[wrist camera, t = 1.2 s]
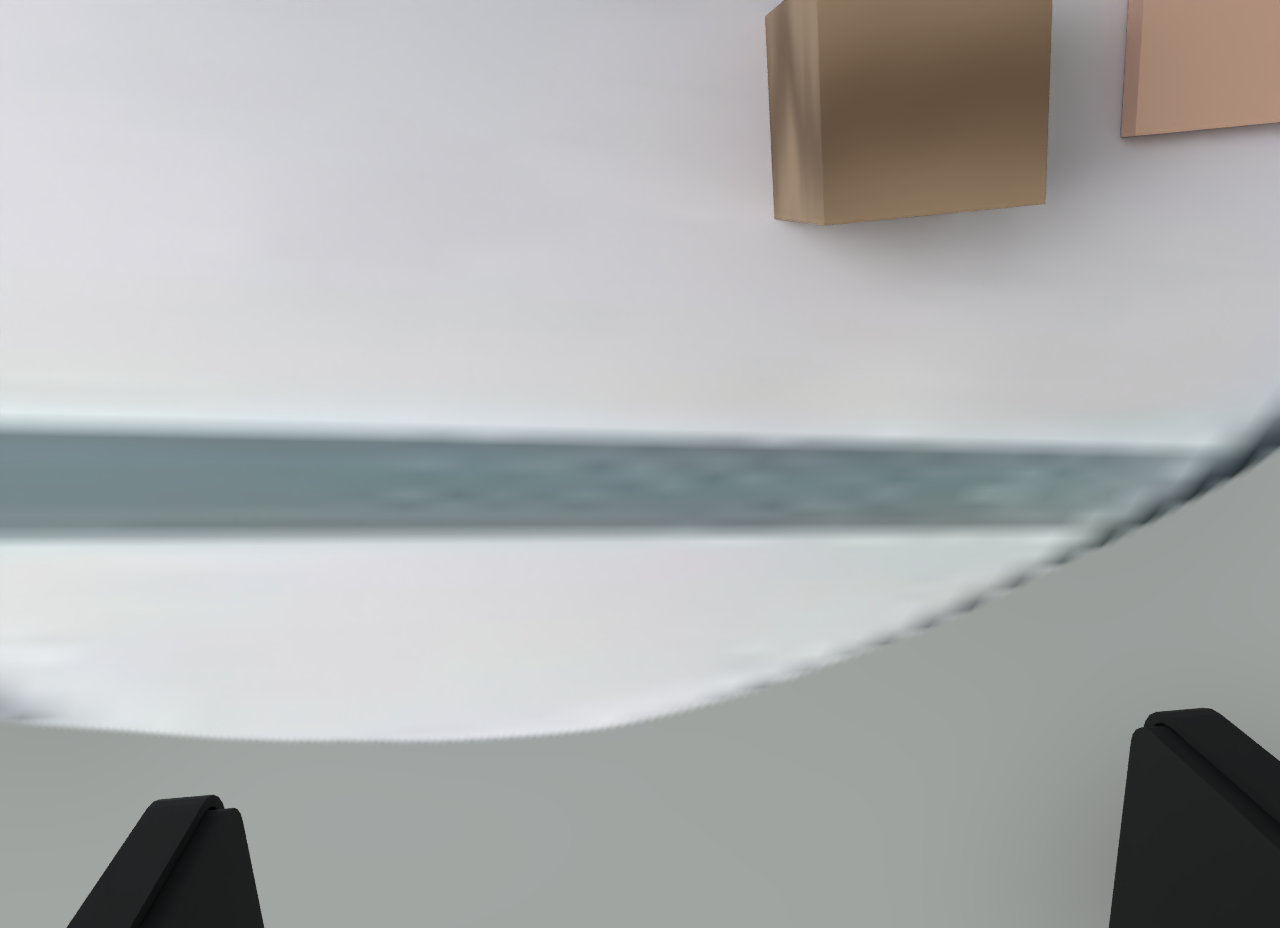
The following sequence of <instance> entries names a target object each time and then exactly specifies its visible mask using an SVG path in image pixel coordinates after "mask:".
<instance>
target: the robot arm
mask: <svg viewBox="0 0 1280 928" xmlns="http://www.w3.org/2000/svg"><path fill="white" fill-rule="evenodd" d="M67 928H264V924H263V919H262V914H261V909H260V904H259V899H258V894H257V890H256V884H255V879H254V874H253V869H252V864H251V859H250V854H249V850H248V844H247V840H246V834H245V829H244V825H243V820H242V817H241V814H240V812H239V811H238V809H235V808H229V809H224V806H223V803H222V801H221V800H220V798H219V797H217V796H215V795H206V796H195V797H183V798H172V799H161V800H157V801H154V802H153V803H152V804H151V805H150V806H149V807H148V808H147V809H146V811H145V813H144V814H143V815H142V817H141V818H140V820H139V821H138V823H137V824H136V826H135V827H134V829H133V830H132V832H131V833H130V835H129V837H128V838H127V839H126V841H125V842H124V844H123V845H122V846H121V848H120V849H119V851H118V852H117V854H116V855H115V857H114V858H113V860H112V861H111V863H110V864H109V866H108V867H107V869H106V870H105V872H104V873H103V875H102V876H101V878H100V879H99V881H98V882H97V884H96V885H95V886H94V888H93V890H92V891H91V893H90V894H89V895H88V897H87V898H86V900H85V901H84V903H83V904H82V906H81V907H80V909H79V910H78V912H77V913H76V915H75V916H74V918H73V919H72V920H71V922H70V923H69V925H68V927H67ZM1109 928H1280V761H1279V760H1278V759H1276V758H1275V757H1274V756H1273V755H1271V754H1270V753H1269V752H1267V751H1266V750H1265V749H1264V748H1262V747H1261V746H1260V745H1259V744H1257V743H1256V742H1255V741H1254V740H1252V739H1251V738H1250V737H1249V736H1247V735H1246V734H1245V733H1244V732H1242V731H1241V730H1240V729H1239V728H1237V727H1236V726H1235V725H1234V724H1232V723H1231V722H1230V721H1229V720H1227V719H1226V718H1225V717H1223V716H1222V715H1221V714H1220V713H1218V712H1216V711H1214V710H1213V709H1209V708H1197V709H1185V710H1174V711H1162V712H1155V713H1153V714H1151V715H1149V717H1148V718H1147V720H1146V721H1145V724H1144V727H1142V728H1139V729H1137V730H1135V732H1134V733H1133V736H1132V740H1131V746H1130V754H1129V763H1128V771H1127V780H1126V788H1125V796H1124V805H1123V813H1122V822H1121V830H1120V839H1119V847H1118V856H1117V864H1116V872H1115V881H1114V889H1113V898H1112V906H1111V915H1110V923H1109Z"/></svg>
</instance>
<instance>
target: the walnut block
mask: <svg viewBox="0 0 1280 928" xmlns="http://www.w3.org/2000/svg"><path fill="white" fill-rule="evenodd" d="M765 25H766V47H767V68H768V89H769V111H770V132H771V153H772V175H773V196H774V217H775V219H780V220H787V221H794V222H802V223H809V224H816V225H824V226H825V225H835V224H846V223H856V222H866V221H876V220H886V219H896V218H907V217H917V216H927V215H937V214H947V213H957V212H967V211H978V210H988V209H998V208H1008V207H1018V206H1028V205H1039V204H1045V198H1046V169H1047V140H1048V112H1049V83H1050V54H1051V26H1052V0H784V1H783V2H782V3H781V4H780V5H778V6H777V7H776V8H775V9H774V10H772V11H771V12H770V13H769V14H768V15H766V16H765Z"/></svg>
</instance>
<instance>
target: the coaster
mask: <svg viewBox="0 0 1280 928" xmlns="http://www.w3.org/2000/svg"><path fill="white" fill-rule="evenodd" d="M1276 122H1280V0H1129V2H1128V20H1127V37H1126V55H1125V73H1124V90H1123V108H1122V126H1121V137H1129V136H1140V135H1150V134H1161V133H1171V132H1182V131H1192V130H1203V129H1213V128H1224V127H1234V126H1245V125H1255V124H1266V123H1276Z"/></svg>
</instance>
